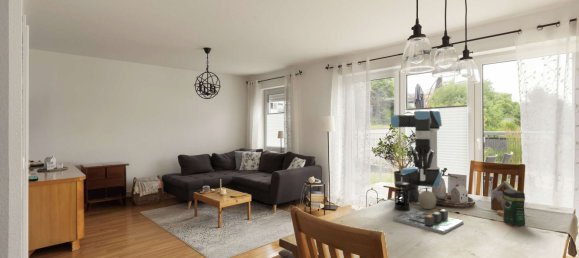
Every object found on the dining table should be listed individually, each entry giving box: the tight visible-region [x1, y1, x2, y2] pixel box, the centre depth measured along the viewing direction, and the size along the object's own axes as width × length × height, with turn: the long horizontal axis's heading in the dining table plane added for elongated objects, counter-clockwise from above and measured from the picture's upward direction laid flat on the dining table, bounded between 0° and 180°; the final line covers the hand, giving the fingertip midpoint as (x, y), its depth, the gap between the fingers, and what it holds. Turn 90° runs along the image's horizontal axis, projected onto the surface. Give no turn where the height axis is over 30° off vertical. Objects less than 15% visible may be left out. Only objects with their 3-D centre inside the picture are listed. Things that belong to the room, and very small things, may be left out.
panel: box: [393, 209, 464, 235], centre depth 168 cm, size 24×28×2 cm
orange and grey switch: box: [424, 215, 434, 225], centre depth 159 cm, size 4×3×4 cm
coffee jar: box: [502, 188, 526, 227], centre depth 163 cm, size 10×8×19 cm
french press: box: [393, 172, 411, 212], centre depth 193 cm, size 12×9×23 cm
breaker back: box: [438, 208, 449, 219], centre depth 169 cm, size 4×3×4 cm
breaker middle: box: [431, 211, 441, 222], centre depth 164 cm, size 4×3×4 cm
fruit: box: [418, 187, 437, 210], centre depth 194 cm, size 10×12×15 cm
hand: (422, 180), depth 168 cm, fingers closed
